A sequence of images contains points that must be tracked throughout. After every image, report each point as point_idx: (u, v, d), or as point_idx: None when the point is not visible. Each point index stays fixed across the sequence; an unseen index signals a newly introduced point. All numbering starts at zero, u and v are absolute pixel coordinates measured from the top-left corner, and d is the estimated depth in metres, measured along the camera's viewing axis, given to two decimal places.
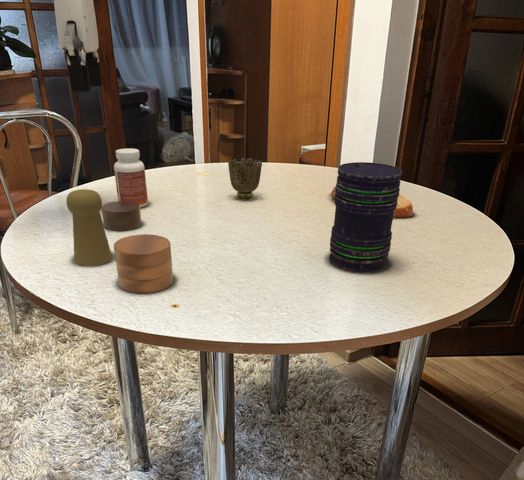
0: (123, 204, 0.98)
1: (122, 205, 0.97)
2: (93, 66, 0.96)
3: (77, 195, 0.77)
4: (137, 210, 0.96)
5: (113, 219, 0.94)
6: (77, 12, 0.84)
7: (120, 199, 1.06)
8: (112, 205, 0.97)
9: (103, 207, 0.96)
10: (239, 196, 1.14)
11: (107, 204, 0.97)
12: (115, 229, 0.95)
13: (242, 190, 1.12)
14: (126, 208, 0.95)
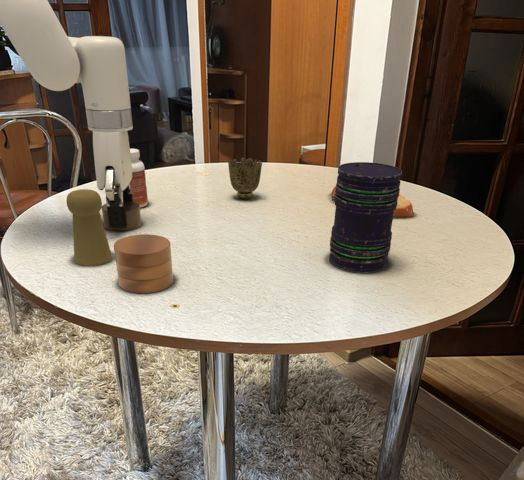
0: (123, 204, 0.98)
1: None
2: (126, 197, 0.99)
3: (77, 195, 0.77)
4: (137, 210, 0.96)
5: None
6: (115, 158, 0.87)
7: None
8: None
9: (103, 207, 0.96)
10: (239, 196, 1.14)
11: None
12: (115, 229, 0.95)
13: (242, 190, 1.12)
14: (126, 208, 0.95)
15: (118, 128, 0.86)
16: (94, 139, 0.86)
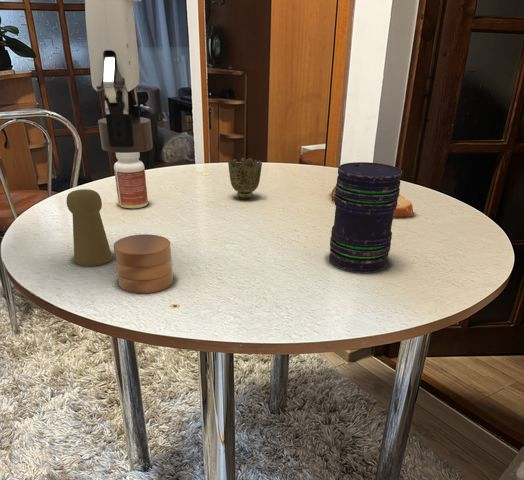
0: None
1: None
2: (131, 111, 0.73)
3: (77, 195, 0.77)
4: (147, 124, 0.70)
5: None
6: (118, 39, 0.61)
7: (120, 199, 1.06)
8: None
9: (101, 120, 0.69)
10: (239, 196, 1.14)
11: None
12: (118, 150, 0.69)
13: (242, 190, 1.12)
14: (133, 122, 0.69)
15: None
16: (87, 9, 0.60)
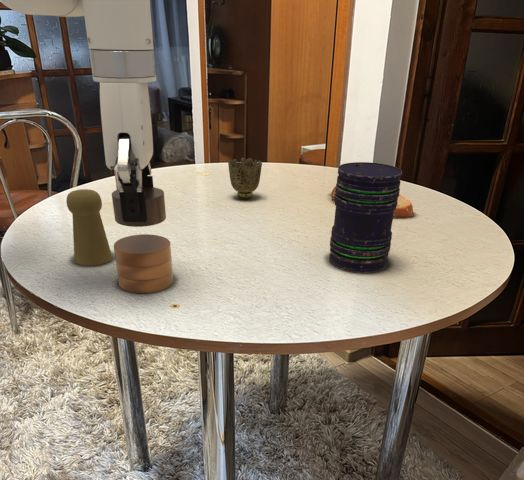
0: None
1: None
2: (144, 181, 0.72)
3: (77, 195, 0.77)
4: (161, 198, 0.69)
5: None
6: (132, 122, 0.61)
7: None
8: None
9: (114, 194, 0.69)
10: (239, 196, 1.14)
11: None
12: (131, 224, 0.69)
13: (242, 190, 1.12)
14: (146, 196, 0.68)
15: (136, 77, 0.60)
16: (102, 93, 0.59)
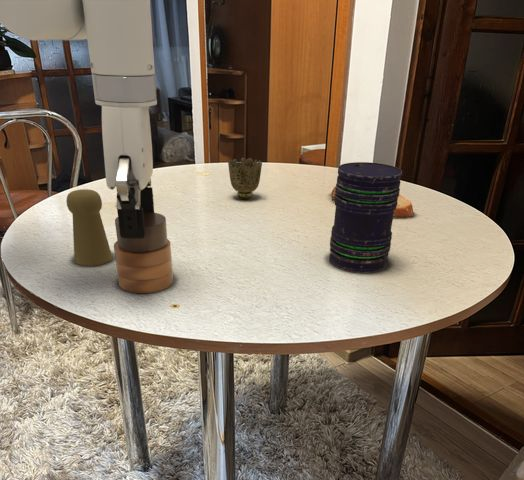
0: None
1: None
2: (144, 193, 0.74)
3: (77, 195, 0.77)
4: (163, 224, 0.71)
5: None
6: (133, 145, 0.62)
7: None
8: None
9: (117, 220, 0.71)
10: (239, 196, 1.14)
11: None
12: (133, 250, 0.71)
13: (242, 190, 1.12)
14: (149, 223, 0.70)
15: (138, 102, 0.61)
16: (104, 117, 0.61)
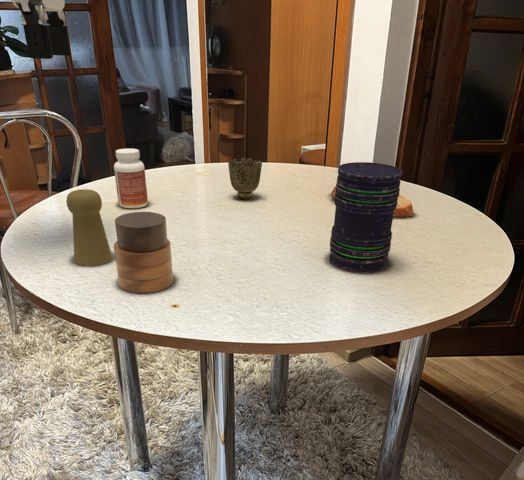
0: (143, 216, 0.73)
1: (143, 217, 0.72)
2: (59, 30, 0.79)
3: (77, 195, 0.77)
4: (163, 224, 0.71)
5: (131, 237, 0.70)
6: None
7: (120, 199, 1.06)
8: (129, 218, 0.72)
9: (117, 220, 0.71)
10: (239, 196, 1.14)
11: (122, 216, 0.73)
12: (133, 250, 0.71)
13: (242, 190, 1.12)
14: (149, 223, 0.70)
15: None
16: None
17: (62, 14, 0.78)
